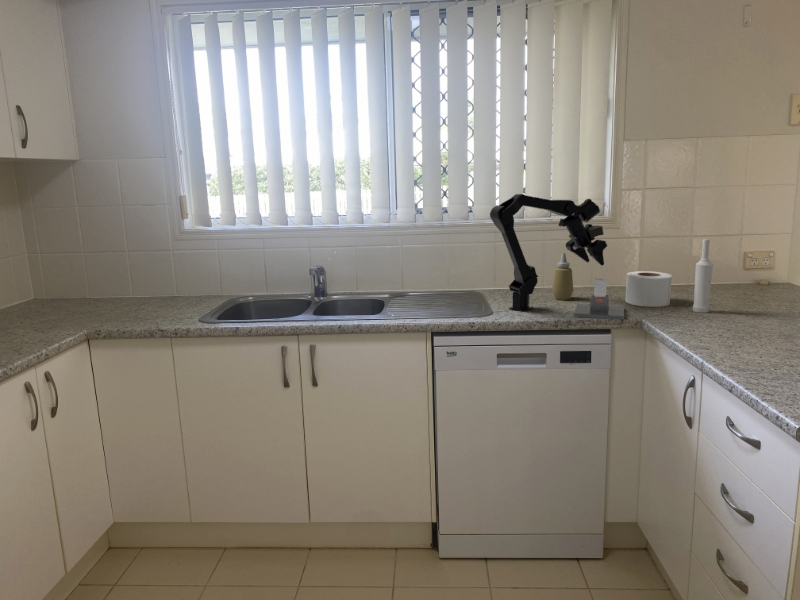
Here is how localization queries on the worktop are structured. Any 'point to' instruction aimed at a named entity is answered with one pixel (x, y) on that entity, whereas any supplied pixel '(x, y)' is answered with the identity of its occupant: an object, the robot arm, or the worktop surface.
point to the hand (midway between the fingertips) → (595, 263)
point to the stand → (599, 309)
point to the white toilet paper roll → (648, 288)
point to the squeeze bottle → (562, 280)
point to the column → (600, 287)
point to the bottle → (703, 281)
